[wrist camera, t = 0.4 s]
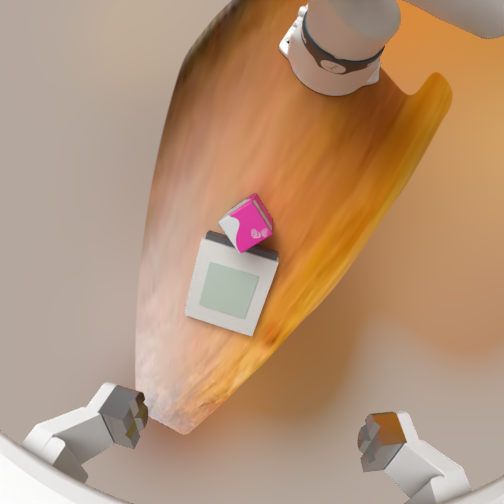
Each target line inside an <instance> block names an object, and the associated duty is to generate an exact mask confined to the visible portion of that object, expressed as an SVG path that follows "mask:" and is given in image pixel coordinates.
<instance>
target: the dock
mask: <svg viewBox="0 0 504 504" xmlns="http://www.w3.org/2000/svg"><path fill="white" fill-rule="evenodd" d="M277 256H278V252H277V251H274V250H270V249H267V248H264V247H261V246H258V245H255V246H253V247H251V248H250V249H248V250H246V251H245V252H243V253H241V254H239V252H238V251H237V250H236V248H235V247H234V245H233V244H232V242H231V241H230V239H229V238H228V237H227V236H226V235H223V234H220V233H217V232H213V231H209V232H207V234H206V235H205V236H204V237H203V238H202V239H201V243H200V247H199V251H198V255H197V259H196V263H195V268H194V272H193V276H192V280H191V285H190V289H189V293H188V298H187V302H186V307H185V311H184V315H187V316H190V317H193V318H196V319H198V320H201V321H204V322H207V323H210V324H213V325H216V326H220V327H223V328H226V329H229V330H232V331H235V332H239V333H242V334H245V335H249V336H252V335H253V332H254V330H255V327H256V324H257V322H258V319H259V316H260V313H261V311H262V308H263V305H264V303H265V300H266V297H267V294H268V291H269V289H270V286H271V283H272V280H273V278H274V275H275V272H276V269H277V266H278V263H279V258H278V257H277Z"/></svg>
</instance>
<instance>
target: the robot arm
mask: <svg viewBox="0 0 504 504" xmlns="http://www.w3.org/2000/svg"><path fill="white" fill-rule="evenodd" d="M403 1H405V2H408V3H410V4H412V5H414V6H416V7H418V8H420V9H422V10H424V11H425V12H427V13H429V14H431V15H433V16H435V17H436V18H438V19H440V20H442V21H445V22H447V23H449V24H452V25H454V26H456V27H459V28H460V29H463V30H465V31H467V32H470V33H472V34H474V35H476V36H478V37H481V38H484V39H492V38H498V37H501V36H503V35H504V0H403ZM400 22H401V13H400V9H399V6H398V4H397V2H396V0H308V4H307V5H306V6H301V8H300V9H299V12H298V18H297V19H296V20H295V22H294V23H293V25H292V26H291V28H290V29H289V31H288V32H287V34H286V35H285V37H284V38H283V40H282V41H281V43H280V45H279V50H280V51H281V53H282V54H283V55H284V56H285V57H286V58H287V59H288V60H289V62H290V64H291V67H292V69H293V71H294V73H295V75H296V76H297V77H298V79H299V80H300V81H301V82H302V83H303V84H305V85H306V86H307V87H309V88H310V89H312V90H314V91H316V92H318V93H321V94H325V95H331V96H341V95H346V94H350V93H352V92H354V91H356V90H357V89H359V88H360V87H362V86H364V85H371V84H375V83H377V81H378V80H379V68H380V66H381V62H380V56H381V54H382V52H383V50H384V47H385V44H386V43H387V42H388V41H389V40H390V39H391V38H392V37H393V36H394V35H395V33H396V32H397V31H398V29H399V26H400ZM288 41H289V44H288V43H287V42H288ZM144 400H145V397H144V394H143V393H142V392H139V391H136V390H132V389H129V388H126V387H123V386H119V385H116V384H113V383H110V382H106V383H104V384H103V385H102V386H101V388H100V389H99V391H98V392H97V393H96V395H95V396H94V397H93V399H92V400H91V401H90V403H89V404H88V406H87V407H86V408H85V407H81V408H79V409H76V410H74V411H71V412H69V413H66V414H64V415H61V416H58V417H56V418H53V419H51V420H48V421H45V422H43V423H40V424H37V425H36V426H35V427H34V428H33V430H32V431H31V432H30V433H29V435H28V436H27V437H26V439H25V440H24V441H23V442H22V444H21V445H19V444H18V443H16V442H15V441H14V440H12V439H11V438H9V437H8V436H7V435H6V434H4V433H3V432H2V431H1V430H0V504H133V503H130V502H127V501H124V500H122V499H119V498H116V497H114V496H112V495H109V494H107V493H104V492H102V491H100V490H98V489H95V488H93V487H91V486H89V485H87V484H85V482H86V480H87V478H88V474H87V473H86V471H85V470H84V469H83V467H82V466H81V464H83V463H84V462H86V461H88V460H89V459H91V458H93V457H94V456H96V455H98V454H99V453H101V452H102V451H104V450H106V449H107V448H109V447H110V446H112V445H114V443H116V444H119V445H122V446H126V447H129V448H132V449H135V447H136V444H137V442H138V440H139V438H140V435H139V431H141V430H142V429H144V428H145V426H146V424H147V420H148V408H147V406H146V405H145V404H144V403H143V402H144ZM365 421H366V425H364V426H363V427H362V428H361V430H360V432H359V435H358V448H359V450H360V451H361V452H362V453H363V456H362V458H361V463H362V468H363V472H369V471H377V470H384V472H385V473H386V474H387V475H388V476H389V477H390V478H391V479H392V480H393V481H394V482H395V483H396V484H397V485H398V486H399V487H400V488H401V489H402V490H403V492H404V493H406V494H407V496H408V497H410V499H409V500H408V501H407V502H406V503H405V504H504V475H503V476H501V477H500V478H498V479H496V480H494V481H492V482H490V483H488V484H486V485H484V486H482V487H480V488H478V489H476V490H474V491H472V490H471V488H470V485H469V482H468V480H467V477H466V475H465V472H464V470H463V468H462V467H461V466H459V465H458V464H457V463H455V462H454V461H452V460H451V459H449V458H448V457H446V456H445V455H443V454H442V453H441V452H439V451H438V450H436V449H435V448H433V447H432V446H430V445H429V444H428V443H426V442H425V441H423V440H421V441H420V440H419V438H418V435H417V433H416V430H415V428H414V426H413V423H412V421H411V418H410V416H409V414H408V412H407V411H405V410H404V411H396V412H385V413H374V414H369V415H368V416H367V418H366V420H365Z"/></svg>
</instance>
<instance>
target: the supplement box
mask: <svg viewBox="0 0 504 504" xmlns="http://www.w3.org/2000/svg"><path fill="white" fill-rule="evenodd" d="M218 224H219V225H220V227H221V228H222V229H223V231H224V232H225V234H226V235H227V237H228V238H229V239H230V241H231V242H232V244H233V245H234V247H235V248H236V250H237V251H238V252H239V254H241V253H243V252H245V251H246V250H248V249H250V248H251V247H253V246H255V245H256V244H258V243H259V242H261V241H263V240H264V239H266V238H268V237H269V236H271V235H272V234H273V219H272V217H271V216H270V214H269V213H268V211H267V209H266V208H265V206H264V205H263V203H262V202H261V200H260V198H259V197H258V195H257V194H253V195H251V196H250V197H248V198H247V199H245V200H243V201H242V202H240V203H239V204H237V205H236V206H234V207H233V208H231V209H230V210H229V211H228V212H227V213H226V214H225V216H224V217H223V218H222V219H221V220H220V221H219V222H218Z"/></svg>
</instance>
